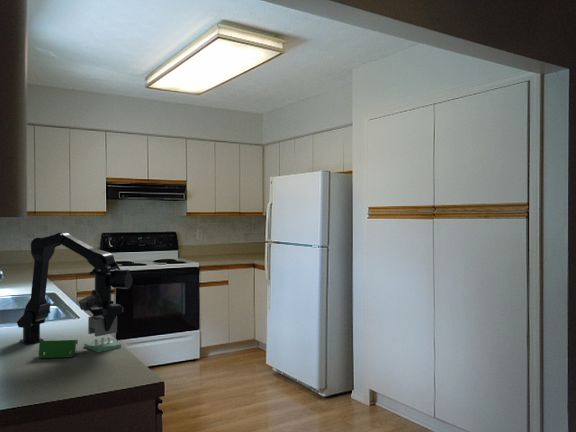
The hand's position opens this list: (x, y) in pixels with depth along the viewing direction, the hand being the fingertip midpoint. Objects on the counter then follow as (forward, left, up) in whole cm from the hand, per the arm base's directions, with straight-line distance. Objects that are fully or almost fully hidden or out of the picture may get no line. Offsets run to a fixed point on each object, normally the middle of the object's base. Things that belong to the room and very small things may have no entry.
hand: (102, 329), depth 183 cm
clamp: (-1, -15, -7) cm, 17 cm away
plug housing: (0, 0, -1) cm, 1 cm away
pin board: (0, 0, -6) cm, 6 cm away
